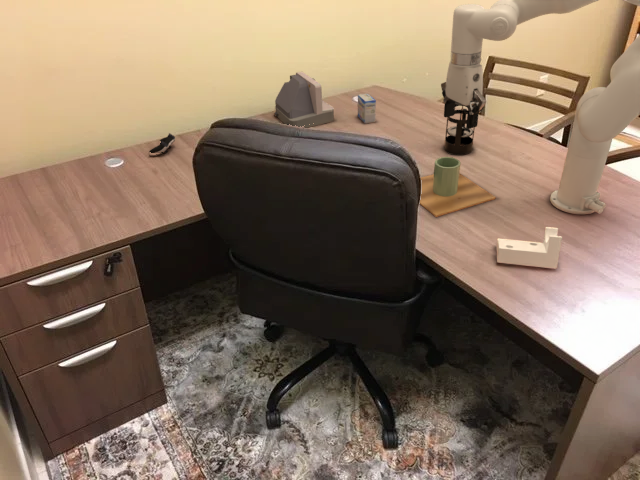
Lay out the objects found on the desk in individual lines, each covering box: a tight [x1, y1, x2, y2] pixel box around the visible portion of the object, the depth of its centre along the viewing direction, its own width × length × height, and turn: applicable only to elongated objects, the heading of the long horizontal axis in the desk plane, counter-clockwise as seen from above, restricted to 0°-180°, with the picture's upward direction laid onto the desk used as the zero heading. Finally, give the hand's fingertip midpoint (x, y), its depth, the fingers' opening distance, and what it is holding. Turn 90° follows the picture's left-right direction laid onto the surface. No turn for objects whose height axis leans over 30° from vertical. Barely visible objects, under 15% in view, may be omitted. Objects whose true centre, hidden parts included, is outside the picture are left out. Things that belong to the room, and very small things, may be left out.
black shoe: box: [148, 132, 177, 157], centre depth 187 cm, size 11×4×7 cm
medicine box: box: [357, 93, 377, 124], centre depth 200 cm, size 8×4×9 cm, turn 17°
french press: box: [443, 100, 476, 156], centre depth 172 cm, size 12×9×23 cm
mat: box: [419, 173, 497, 218], centre depth 155 cm, size 20×20×1 cm
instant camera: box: [274, 71, 335, 129], centre depth 203 cm, size 21×21×15 cm
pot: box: [433, 156, 462, 196], centre depth 152 cm, size 7×7×9 cm
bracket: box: [495, 226, 563, 270], centre depth 125 cm, size 13×7×8 cm, turn 76°
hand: (460, 121), depth 145 cm, fingers open, 9 cm apart
